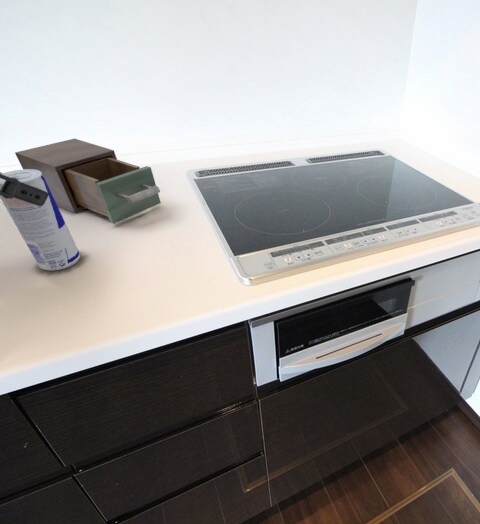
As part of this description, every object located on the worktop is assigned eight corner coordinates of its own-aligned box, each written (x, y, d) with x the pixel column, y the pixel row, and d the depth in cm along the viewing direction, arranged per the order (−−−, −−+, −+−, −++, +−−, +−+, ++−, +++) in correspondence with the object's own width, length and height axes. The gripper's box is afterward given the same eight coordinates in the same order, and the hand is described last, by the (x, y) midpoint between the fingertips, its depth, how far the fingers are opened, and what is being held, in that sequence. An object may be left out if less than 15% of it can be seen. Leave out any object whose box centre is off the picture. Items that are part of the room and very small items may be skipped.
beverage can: (88, 259, 60) (49, 173, 51) (51, 276, 56) (2, 186, 47) (69, 249, 62) (29, 165, 54) (33, 265, 58) (-18, 176, 50)
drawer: (175, 208, 74) (165, 171, 70) (128, 229, 67) (114, 190, 62) (122, 189, 80) (110, 154, 76) (73, 207, 73) (57, 169, 68)
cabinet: (128, 192, 81) (114, 150, 75) (75, 213, 72) (54, 166, 67) (90, 179, 86) (74, 138, 80) (36, 196, 77) (14, 152, 72)
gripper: (-104, 106, 35) (68, 180, 50) (-154, 87, 40) (15, 158, 55) (-143, 176, 34) (43, 229, 49) (-190, 146, 40) (-9, 203, 55)
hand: (28, 192), depth 52 cm, fingers open, 8 cm apart
